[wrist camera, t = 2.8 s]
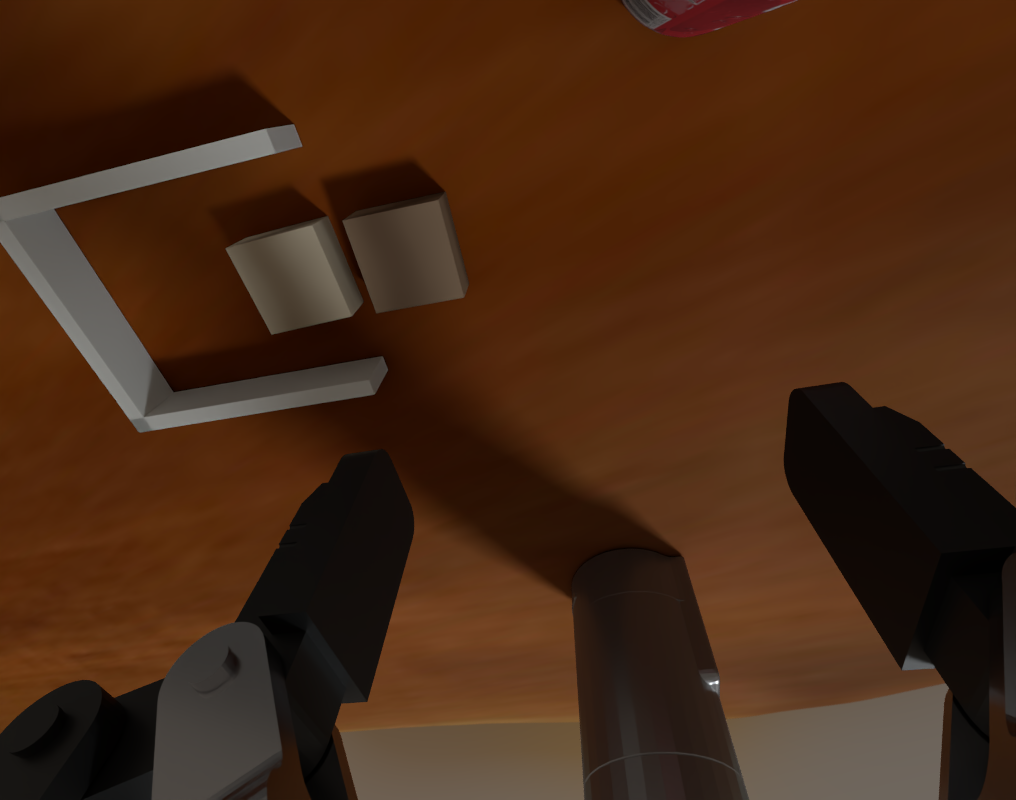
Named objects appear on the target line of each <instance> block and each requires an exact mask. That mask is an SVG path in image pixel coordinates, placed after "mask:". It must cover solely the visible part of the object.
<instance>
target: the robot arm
mask: <svg viewBox="0 0 1016 800" xmlns="http://www.w3.org/2000/svg"><path fill="white" fill-rule="evenodd" d="M784 469H785V474H786V478H787V482H788V485H789V487H790V490H791V492H792V493H793V495H794V497H795V499H796V500H797V502H798V503H799V505H800V507H801V508H802V510H803V511H804V513H805V515H806V516H807V518H808V520H809V521H810V523H811V524H812V526H813V528H814V529H815V531H816V533H817V534H818V536H819V537H820V539H821V541H822V542H823V544H824V545H825V547H826V549H827V550H828V552H829V554H830V555H831V557H832V558H833V560H834V562H835V563H836V565H837V566H838V568H839V570H840V571H841V573H842V575H843V576H844V578H845V579H846V581H847V583H848V584H849V586H850V588H851V589H852V591H853V592H854V594H855V596H856V597H857V599H858V600H859V602H860V604H861V605H862V607H863V609H864V610H865V612H866V613H867V615H868V617H869V618H870V620H871V621H872V623H873V625H874V626H875V628H876V630H877V631H878V633H879V634H880V636H881V638H882V639H883V641H884V643H885V644H886V646H887V647H888V649H889V651H890V652H891V654H892V655H893V657H894V659H895V660H896V662H897V664H898V665H899V667H900V668H901V670H915V669H930V668H936V669H937V671H938V672H939V674H940V675H941V677H942V678H943V680H944V681H945V683H946V684H947V686H948V687H949V690H948V692H947V694H946V697H945V702H944V716H943V734H942V751H941V768H940V787H939V800H1016V508H1015V507H1014V506H1013V505H1012V504H1011V503H1010V502H1008V501H1007V500H1006V499H1005V498H1004V497H1003V496H1002V495H1001V494H999V493H998V492H997V491H996V490H995V489H994V488H993V487H992V486H990V485H989V484H988V483H987V482H986V481H985V480H984V479H983V478H981V477H980V476H979V475H978V474H977V473H976V472H975V471H974V470H972V469H971V468H966V466H965V462H963V461H962V460H961V459H960V458H959V457H958V456H957V455H956V454H955V453H953V452H952V451H951V450H950V449H945V447H944V444H943V443H942V442H941V441H940V440H939V439H938V438H937V437H935V436H934V435H933V434H932V433H931V432H930V431H929V430H928V429H926V428H925V427H924V426H923V425H922V424H921V423H920V422H918V421H915V420H913V419H911V418H909V417H907V416H905V415H903V414H901V413H899V412H896V411H894V410H892V409H890V408H888V407H886V406H883V407H876V408H872V407H871V406H870V405H869V404H868V403H867V402H866V401H865V400H864V399H863V398H862V397H861V396H860V395H859V394H858V393H857V392H856V391H855V390H854V389H853V388H852V387H851V386H850V385H848V384H847V383H845V382H839V383H832V384H825V385H819V386H812V387H805V388H798V389H794V390H793V391H792V392H791V394H790V397H789V405H788V416H787V427H786V439H785V450H784ZM413 534H414V516H413V511H412V507H411V504H410V502H409V500H408V497H407V495H406V493H405V490H404V488H403V486H402V483H401V481H400V479H399V476H398V474H397V472H396V470H395V467H394V465H393V463H392V460H391V458H390V456H389V454H388V453H387V452H386V451H385V450H383V449H379V450H373V451H366V452H359V453H352V454H346V455H344V456H343V457H342V458H341V460H340V462H339V464H338V465H337V467H336V469H335V471H334V473H333V475H332V477H331V479H330V481H329V483H322V484H321V485H320V486H319V487H318V488H317V489H316V490H315V491H314V492H313V493H312V494H311V495H310V496H309V497H308V498H307V499H306V500H305V501H304V502H303V503H302V504H301V506H300V508H299V510H298V511H297V513H296V515H295V517H294V518H293V520H292V522H291V524H290V530H287V531H286V533H285V534H284V536H283V538H282V540H281V542H280V543H279V545H280V547H279V549H276V550H275V552H274V554H273V556H272V557H271V559H270V561H269V563H268V565H267V566H266V568H265V570H264V572H263V573H262V575H261V577H260V579H259V581H258V582H257V584H256V586H255V588H254V589H253V591H252V593H251V595H250V596H249V598H248V600H247V602H246V604H245V605H244V607H243V609H242V611H241V612H240V614H239V616H238V618H237V620H236V621H235V623H231V624H227V625H224V626H222V627H219V628H217V629H215V630H213V631H211V632H209V633H208V634H206V635H205V636H203V637H202V638H200V639H199V640H198V641H196V642H195V643H194V644H193V645H191V646H190V647H189V648H188V649H187V650H186V651H185V652H184V653H183V654H182V655H181V656H180V657H179V658H178V660H177V661H176V662H175V663H174V665H173V666H172V667H171V669H170V670H169V672H168V673H167V675H166V677H165V678H164V679H161V680H159V681H156V682H154V683H151V684H149V685H146V686H143V687H141V688H138V689H136V690H133V691H131V692H128V693H126V694H123V695H121V696H118V697H116V698H113V697H112V696H111V695H110V694H109V693H107V692H106V691H105V690H104V689H103V688H102V687H100V686H99V685H98V684H97V683H96V682H93V681H90V680H81V681H75V682H72V683H69V684H66V685H64V686H61V687H59V688H57V689H55V690H53V691H52V692H50V693H48V694H46V695H45V696H43V697H42V698H40V699H39V700H37V701H36V702H35V703H33V704H32V705H31V706H29V707H28V708H27V709H26V710H24V711H23V712H22V713H21V714H20V715H19V716H17V717H16V718H15V719H14V720H13V721H12V722H11V723H10V724H9V725H8V726H7V727H6V728H5V730H4V731H3V732H2V733H1V734H0V800H358V798H357V795H356V791H355V787H354V784H353V780H352V776H351V772H350V769H349V765H348V761H347V757H346V753H345V750H344V746H343V742H342V738H341V735H340V732H339V730H338V728H337V727H336V725H335V722H336V718H337V715H338V712H339V709H340V706H341V703H356V702H367V701H368V697H369V694H370V690H371V687H372V683H373V679H374V676H375V672H376V669H377V665H378V661H379V658H380V654H381V651H382V647H383V643H384V640H385V636H386V633H387V629H388V625H389V622H390V618H391V615H392V611H393V607H394V604H395V600H396V596H397V593H398V589H399V586H400V582H401V578H402V575H403V571H404V568H405V564H406V560H407V557H408V553H409V550H410V546H411V542H412V539H413ZM572 613H573V621H574V638H575V654H576V670H577V687H578V703H579V719H580V734H581V751H582V767H583V782H584V783H583V784H584V798H585V799H584V800H749V797H748V794H747V791H746V787H745V784H744V781H743V777H742V773H741V770H740V767H739V764H738V760H737V756H736V753H735V749H734V746H733V743H732V739H731V736H730V733H729V730H728V725H727V722H726V719H725V715H724V712H723V708H722V705H721V701H720V677H719V673H718V669H717V666H716V662H715V659H714V656H713V653H712V649H711V646H710V643H709V639H708V636H707V633H706V630H705V626H704V623H703V620H702V616H701V613H700V610H699V606H698V603H697V600H696V597H695V593H694V590H693V587H692V583H691V580H690V577H689V573H688V570H687V567H686V564H685V560H684V558H683V557H680V556H679V557H667V556H664V555H661V554H659V553H656V552H653V551H648V550H643V549H619V550H614V551H609V552H605V553H603V554H600V555H598V556H595V557H593V558H592V559H590V560H589V561H587V562H586V563H584V564H583V565H582V566H581V567H580V568H579V569H578V571H577V572H576V574H575V575H574V577H573V581H572Z"/></svg>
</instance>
